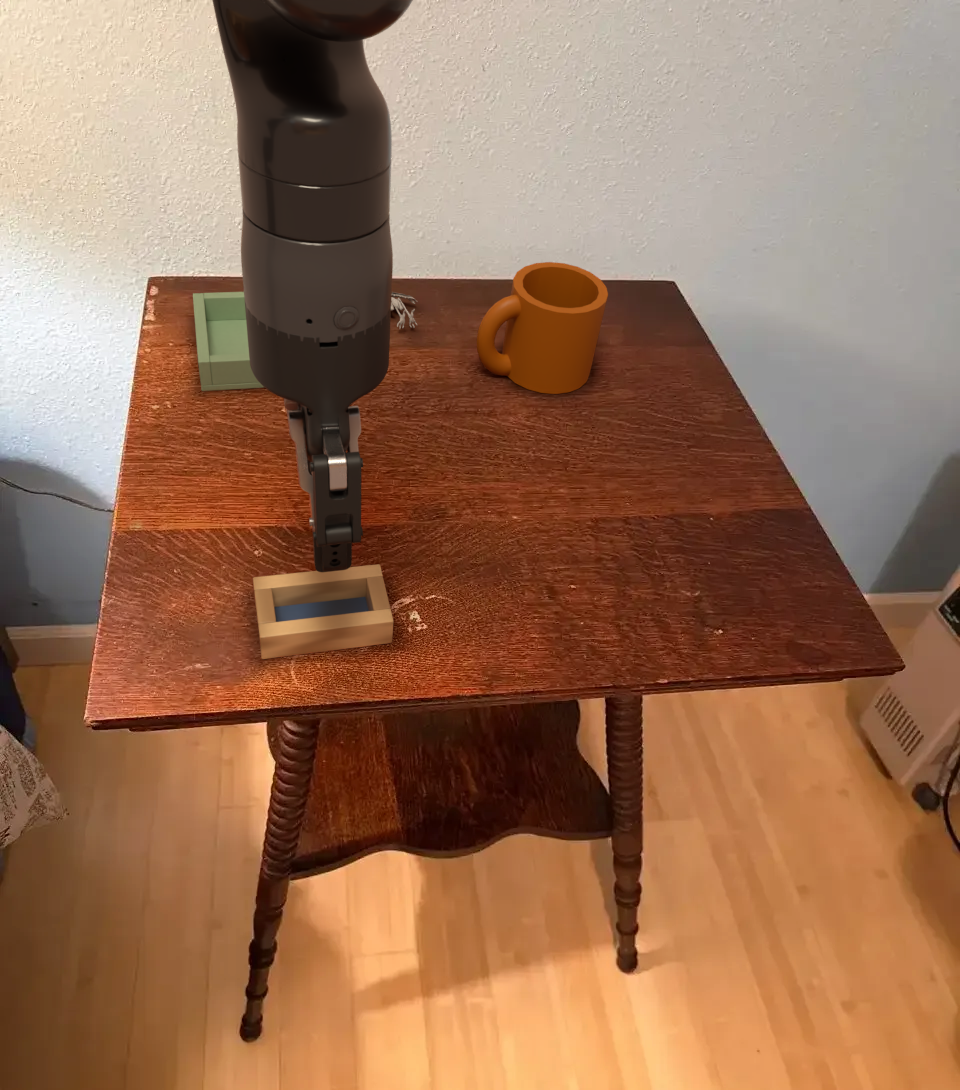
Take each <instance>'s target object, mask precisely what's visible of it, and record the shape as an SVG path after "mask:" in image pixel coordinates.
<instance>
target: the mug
mask: <svg viewBox="0 0 960 1090" xmlns="http://www.w3.org/2000/svg"><path fill="white" fill-rule="evenodd" d="M608 297H609V292H608V288H607V286H606V285H605V283H604V282H603V280H601V278H599V277H598V276H596V275H595V274H594V273H592V272H591V271H589V270H586V269H584V268H582V267H579V266H576V265H572V264H568V263H564V262H555V261H554V262H553V261H546V262H535V263H532V264H528V265H525V266H523V267H521V268H520V269H519V270H518V271H516V273H515V275H514V277H513V278H512V283H511V291H510V295H508V296H505V297H503V298H501V299H499V300H498V301H496V302H495V303H493V305H492V306H491V307H490V308H489V309H488V310H487V311H486V313H485V314H484V316H483V317H482V319H481V322H480V324H479V327H478V328H477V333H476V339H475V341H476V351H477V355H478V357H479V361H480V362H481V364H482V365H483V368H485V369H486V370H487V371H489V372H490V373H492V374H494V375H496V376H501V377H502V376H503V377H505V376H506V377H507V378H509V379H510V380H511V381H512V382H513V383H514V384H516V385H518V386H520V387H522V388H524V389H525V390H529V391H532V392H536V393H541V394H551V395H558V394H559V395H560V394H566V393H567V394H568V393H571V392H574V391H576V390H579V389H580V388H582V387H583V386H584V385H585V384H586V383H588V380H589V378H590V377H589V376H590V374H591V369H592V366H593V362H594V357H595V353H596V348H597V344H598V340H599V335H600V331H601V327H602V323H603V318H604V315H605V310H606V306H607V301H608ZM504 324H505V330H504V337H503V343H502V350H501V353H500V352H499V351H498V350H497V348H496V344H495V341H496V336H497V333H498V331H499V330H500V328H501V327H502V326H503V325H504Z"/></svg>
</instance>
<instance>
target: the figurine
mask: <svg viewBox="0 0 960 1090" xmlns="http://www.w3.org/2000/svg"><path fill="white" fill-rule="evenodd" d="M402 299H406V300H408V301H409V302H411V303H412V304H416V303H417V300H416V298H414V297H413V296H412V295H409V294H408V295H407V294H405V293H401V292H400V293H399V292H395V291H392V296H391V312H393V311H394V310H396V312H397V314H398V316H399V321H397V324H396V327H397V328H398V327H399V329H401V327H402V329H404V327H405V324H406V315H407V317H408V319H409V320H408V321H409V323H408V324H409V327H410V328H413V329H415V328H416V327H415V325H416V326H418V323H417V321H416V319H415V318H414V312H415V311H416V309H415V308H413V309H412V310H411V311H410V312H409V311H408V309H407V308H406V306H405V304H404V303H403V301H402ZM402 310H403V312H402V314H401V313H400V312H401V311H402Z"/></svg>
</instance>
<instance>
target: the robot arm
mask: <svg viewBox="0 0 960 1090" xmlns="http://www.w3.org/2000/svg"><path fill="white" fill-rule="evenodd" d="M211 1H212V6H213V10H214V14H215V20H216V25H217V29H218V34H219V38H220V43H221V48H222V52H223V56H224V60H225V64H226V68H227V71H228V76H229V79H230V84H231V88H232V93H233V98H234V104H235V110H236V123H237V124H236V142H237V143H236V144H237V158H238V170H239V183H240V184H239V185H240V197H241V207H242V220H241V221H242V222H241V223H242V224H241V237H240V261H241V262H240V263H241V274H242V286H243V287H242V288H243V292H244V300H245V312H246V323H247V335H248V347H249V359H250V366H251V369H252V372H253V374H254V376H255V377H256V379H257V380H258V381H259V382H260V384H261V385H263V386H264V387H265V389H266V390H267V391H269V392H270V393H272V394H274V395H275V396H278V397H280V398H282V399H283V405H284V409H285V410H286V417H287V423H288V433H289V438H290V440H292V441H293V443H294V449H295V459H296V460H295V461H296V469H297V479H298V485H299V488H301V489H302V490H303V491H304V492H306V493H307V494H308V502H309V511H310V517H308V524H309V527H311V529H312V546H313V547H312V549H313V563H314V564H313V565H314V568H315V571H318V572H330V571H339V570H346V569H348V568H350V567H352V565H353V544H357V543H362V537H363V536H364V530H363V526H362V469H363V468H364V460H363V457H361V454H360V450H359V437H360V435H361V434H362V424H361V423H362V422H361V421H362V420H361V411H360V407H359V405H352V404H354V403H355V402H357V401H358V400H359V399H361V398H362V397H364V396H366V395H368V394H370V393H371V392H373V391H374V390H375V389H377V388H378V387H379V386H380V384H381V383H382V382H383V381H384V379H385V378H386V375H387V374H388V370H389V366H390V348H391V347H390V346H391V345H390V344H391V319H392V318H391V317H392V311H391V296H392V292H393V267H394V266H393V265H394V253H393V242H392V233H391V224H390V223H391V219H390V218H391V217H390V212H391V188H392V187H391V183H392V159H393V158H392V155H393V154H392V153H393V142H392V141H393V140H392V139H393V138H392V137H393V135H392V121H391V115H390V111H389V107H388V103H387V101H386V99H385V97H384V95H383V94H384V93H382V91H381V89H380V87H379V86H378V84H377V82H376V80H375V79H374V77H373V75H372V73H371V70H370V67H369V64H368V62H367V57H366V53H365V46H364V41H365V40H367V39H371V38H372V37H375V36H377V35H379V34H381V33H383V32H385V31H386V30H388V29H390V28H391V27H392V26H393V25H395V24H396V23H397V22H398V21H399V20H400V19H401V18H402V17H403V15H404V14H405V13H406V12H407V10H409V7H410V6H411V5H412V3H413V2H414V0H211Z"/></svg>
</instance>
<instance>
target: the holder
mask: <svg viewBox="0 0 960 1090" xmlns="http://www.w3.org/2000/svg"><path fill="white" fill-rule="evenodd" d="M192 303H193V314H194V315H193V316H194V328H195V329H194V330H195V340H196V341H195V343H196V354H197V364H198V373H199V381H200V390H201V391H202V392H208V391H209V392H211V391H212V392H213V391H228V390H229V391H231V390H244V389H245V390H246V389H263V388H265V387H264V386H263V385H261V384H260V382H259V381H258V380H257V379H256V377H255V376H254V374H253V372H252V369H251V366H250V359H249V347H248V335H247V323H246V312H245V300H244V291H225V292H223V291H222V292H220V291H219V292H193V293H192ZM265 389H266V388H265Z"/></svg>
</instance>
